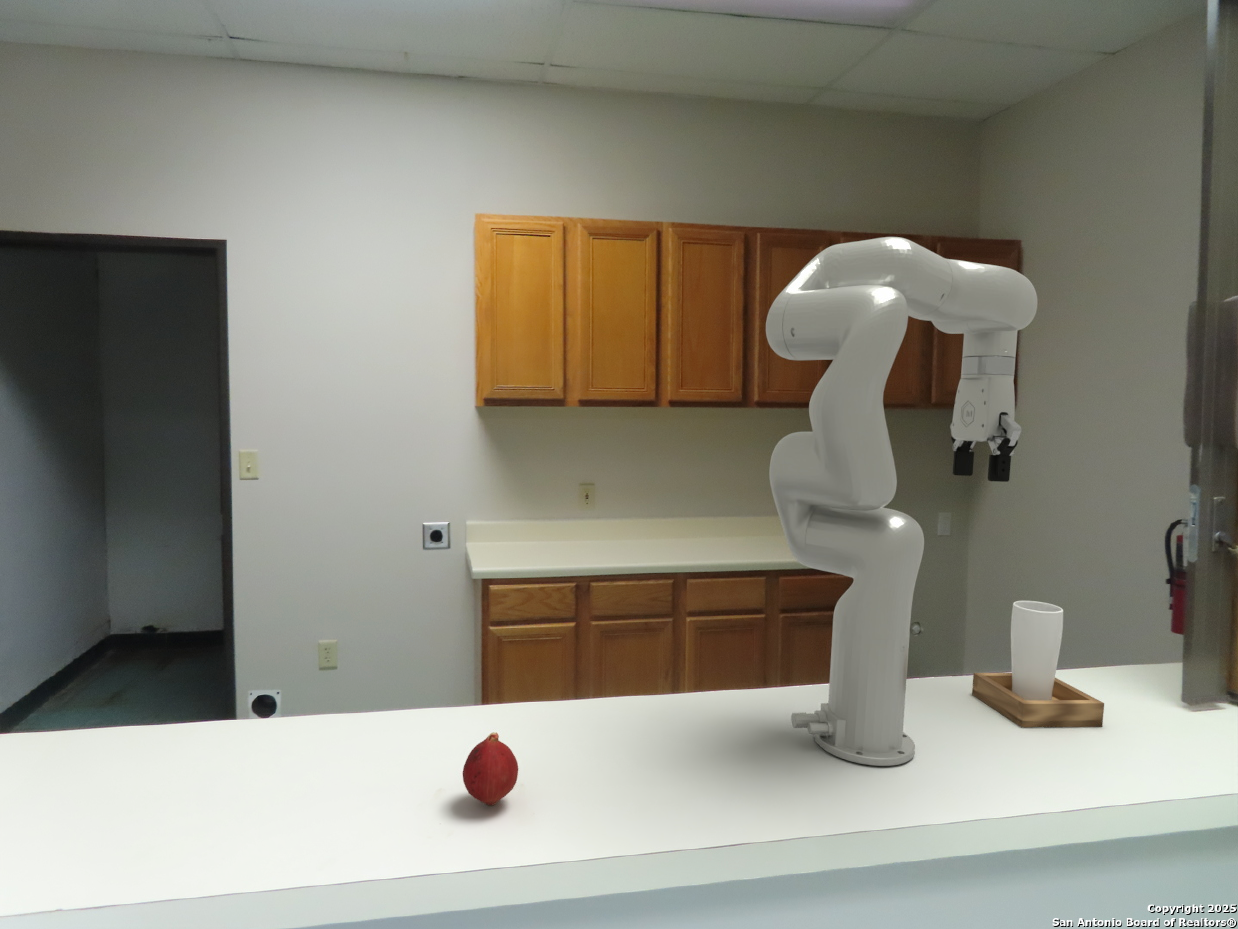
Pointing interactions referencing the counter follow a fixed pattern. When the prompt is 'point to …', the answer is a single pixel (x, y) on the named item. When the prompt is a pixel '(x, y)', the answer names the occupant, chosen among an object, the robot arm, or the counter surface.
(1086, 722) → the tray
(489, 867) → the counter surface
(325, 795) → the counter surface
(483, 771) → the onion
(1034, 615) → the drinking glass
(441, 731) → the counter surface
